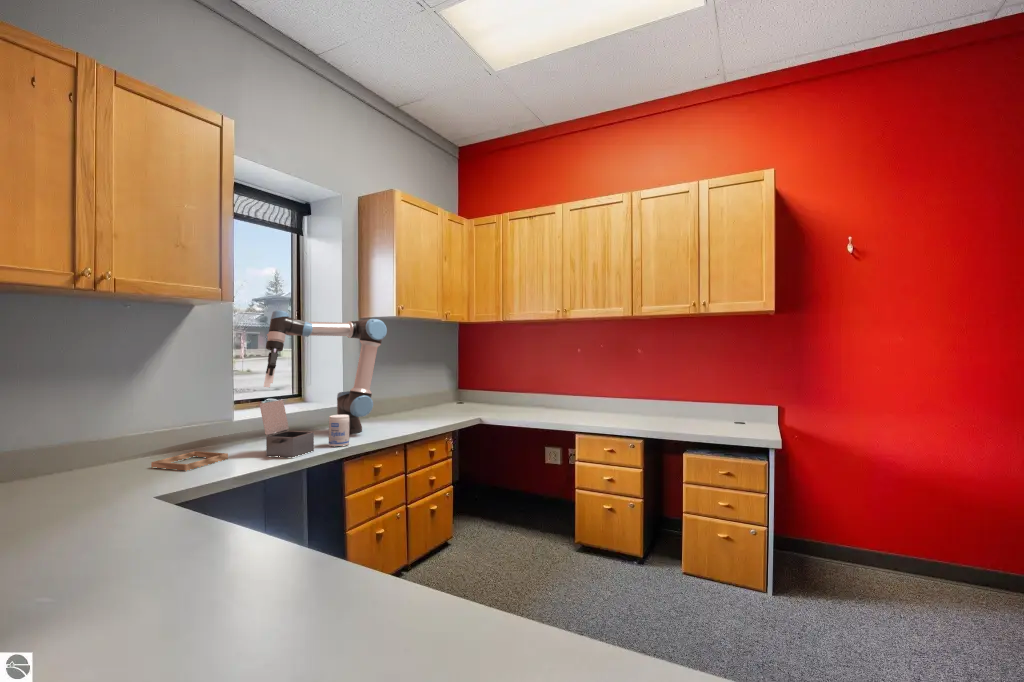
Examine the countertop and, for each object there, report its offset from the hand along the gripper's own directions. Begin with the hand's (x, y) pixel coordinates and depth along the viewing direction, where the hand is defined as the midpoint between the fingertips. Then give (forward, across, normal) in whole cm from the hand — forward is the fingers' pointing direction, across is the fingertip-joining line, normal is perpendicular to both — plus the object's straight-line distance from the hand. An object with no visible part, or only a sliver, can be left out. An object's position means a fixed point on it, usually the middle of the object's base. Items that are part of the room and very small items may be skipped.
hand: (267, 385), depth 227 cm
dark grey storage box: (+31, +6, +14) cm, 35 cm away
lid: (+15, +4, +5) cm, 16 cm away
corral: (+37, +2, -24) cm, 44 cm away
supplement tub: (+26, 0, +36) cm, 44 cm away
